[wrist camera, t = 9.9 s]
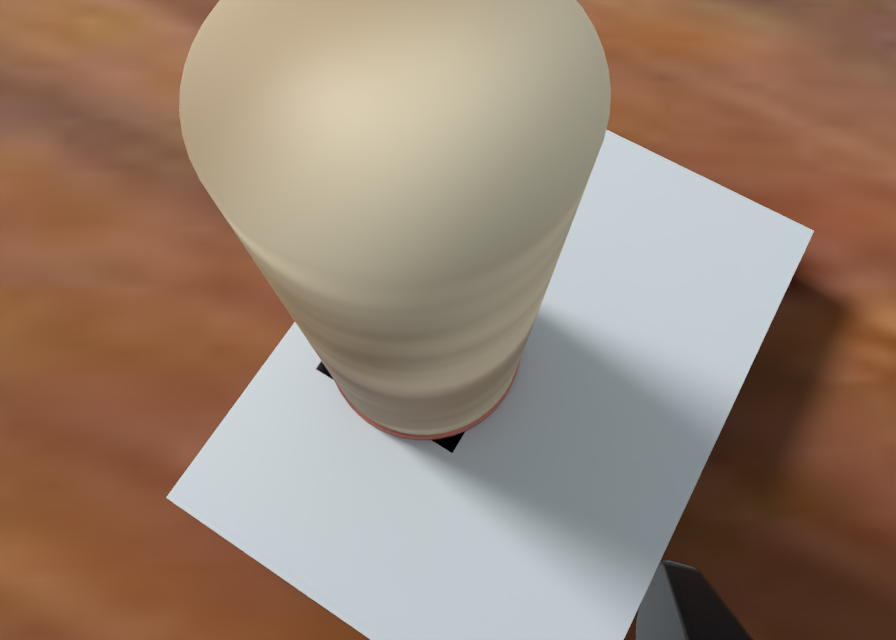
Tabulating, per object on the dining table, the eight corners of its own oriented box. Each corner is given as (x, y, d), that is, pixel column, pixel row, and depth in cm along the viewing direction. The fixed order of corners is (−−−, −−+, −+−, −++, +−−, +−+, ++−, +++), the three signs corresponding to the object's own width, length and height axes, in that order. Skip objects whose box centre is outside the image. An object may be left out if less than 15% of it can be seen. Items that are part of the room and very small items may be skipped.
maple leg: (547, 376, 20) (707, 99, 8) (416, 490, 19) (356, 379, 6) (437, 258, 21) (423, -136, 9) (308, 358, 20) (91, 60, 8)
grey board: (773, 265, 21) (814, 231, 19) (545, 741, 17) (561, 772, 14) (477, 116, 23) (480, 68, 21) (201, 504, 19) (166, 497, 16)
